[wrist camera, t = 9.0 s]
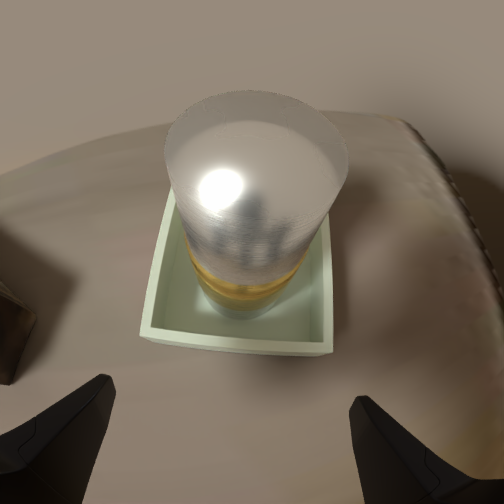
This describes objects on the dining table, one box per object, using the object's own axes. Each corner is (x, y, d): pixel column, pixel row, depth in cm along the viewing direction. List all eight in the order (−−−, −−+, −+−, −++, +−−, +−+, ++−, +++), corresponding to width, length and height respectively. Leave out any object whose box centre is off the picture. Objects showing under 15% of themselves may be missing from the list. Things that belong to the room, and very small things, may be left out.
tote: (315, 356, 18) (332, 352, 15) (154, 342, 18) (139, 335, 15) (310, 165, 25) (320, 139, 22) (193, 153, 25) (190, 126, 22)
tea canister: (298, 276, 20) (378, 145, 8) (247, 338, 18) (280, 268, 6) (236, 229, 21) (246, 74, 9) (183, 284, 19) (123, 149, 7)
